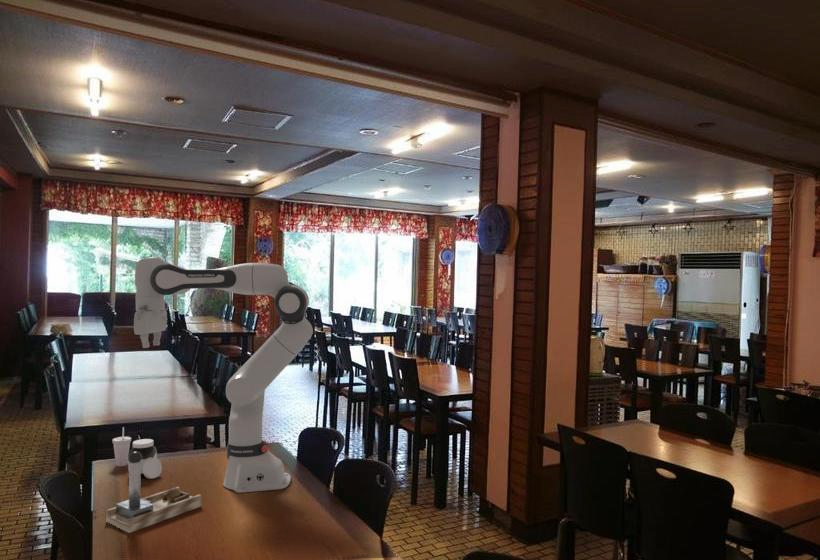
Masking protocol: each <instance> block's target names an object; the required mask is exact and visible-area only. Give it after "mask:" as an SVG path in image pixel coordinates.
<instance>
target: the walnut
mask: <svg viewBox="0 0 820 560" xmlns="http://www.w3.org/2000/svg"><path fill="white" fill-rule="evenodd" d="M167 490H168V492H167V499H168V500H169V501H174V499H175V498H177V497H180V495H181V492H180V491H181V489H180V490H179V489H178V488H175V487H171V488H169V489H167Z"/></svg>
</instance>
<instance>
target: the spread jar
mask: <svg viewBox="0 0 820 560" xmlns="http://www.w3.org/2000/svg"><path fill="white" fill-rule="evenodd" d="M135 451H137V452H140V453H141V455H142V460H141V478H147V479H149V480H152V479H153V480H154V479H156V478H158V477H159V476H160V475H161V473H162V471H163V470H162V469H163V467H162V466H163V465H162V462H161V461H160V459H158V451H157V448H156V446H154V439H151V438H143V439H141V438H140V439H136V440H134V441H133V442H132V448H131V450H129V455H130V454H131V453H132V452H135ZM129 455H128V456H129ZM127 465H128V467H127V468H128V471H129V461H128V462H127Z"/></svg>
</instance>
